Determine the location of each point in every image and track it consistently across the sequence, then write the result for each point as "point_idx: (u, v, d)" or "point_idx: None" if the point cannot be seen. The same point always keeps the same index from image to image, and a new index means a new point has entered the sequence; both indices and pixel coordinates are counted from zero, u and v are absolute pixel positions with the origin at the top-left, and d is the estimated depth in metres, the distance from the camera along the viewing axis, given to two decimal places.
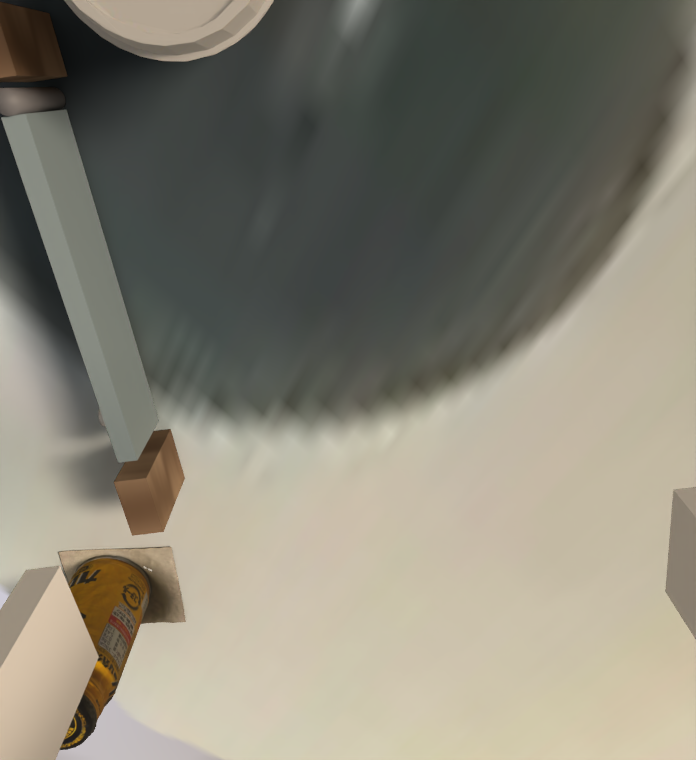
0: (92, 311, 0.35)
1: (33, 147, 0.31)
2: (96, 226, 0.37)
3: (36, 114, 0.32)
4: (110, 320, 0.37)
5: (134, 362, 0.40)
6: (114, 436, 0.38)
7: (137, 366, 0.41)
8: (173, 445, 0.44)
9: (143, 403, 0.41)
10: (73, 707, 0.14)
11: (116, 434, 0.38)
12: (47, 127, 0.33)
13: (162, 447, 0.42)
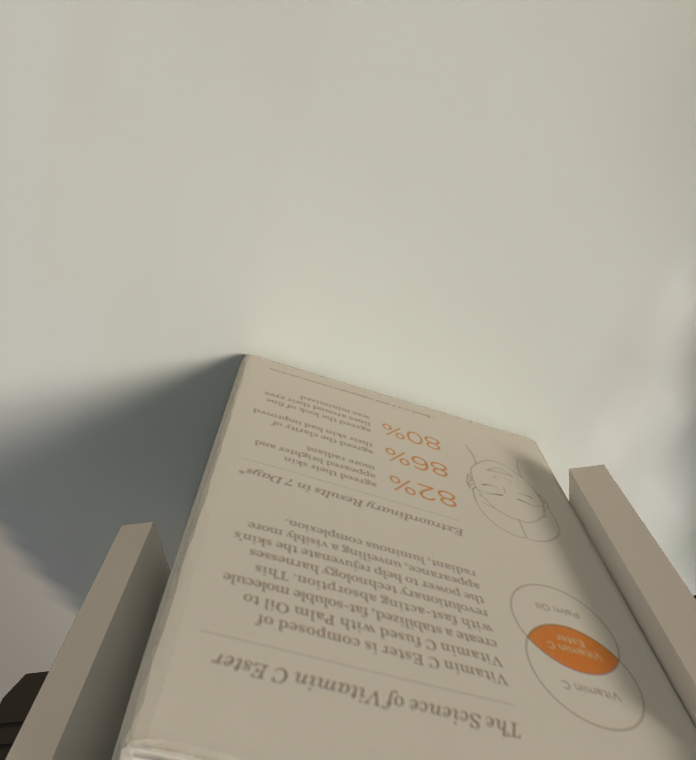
0: None
1: None
2: None
3: None
4: None
5: None
6: None
7: None
8: None
9: None
10: None
11: None
12: None
13: None
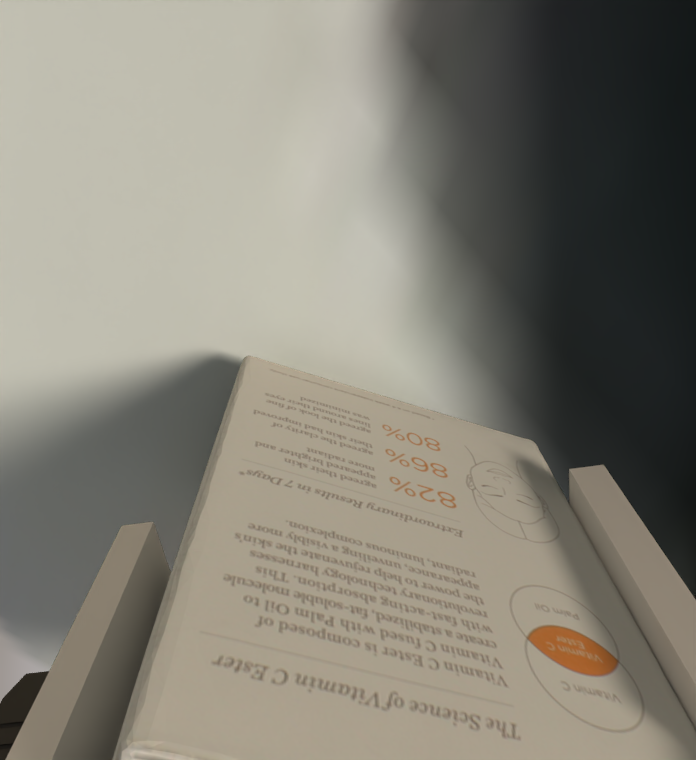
0: None
1: None
2: None
3: None
4: None
5: None
6: None
7: None
8: None
9: None
10: None
11: None
12: None
13: None
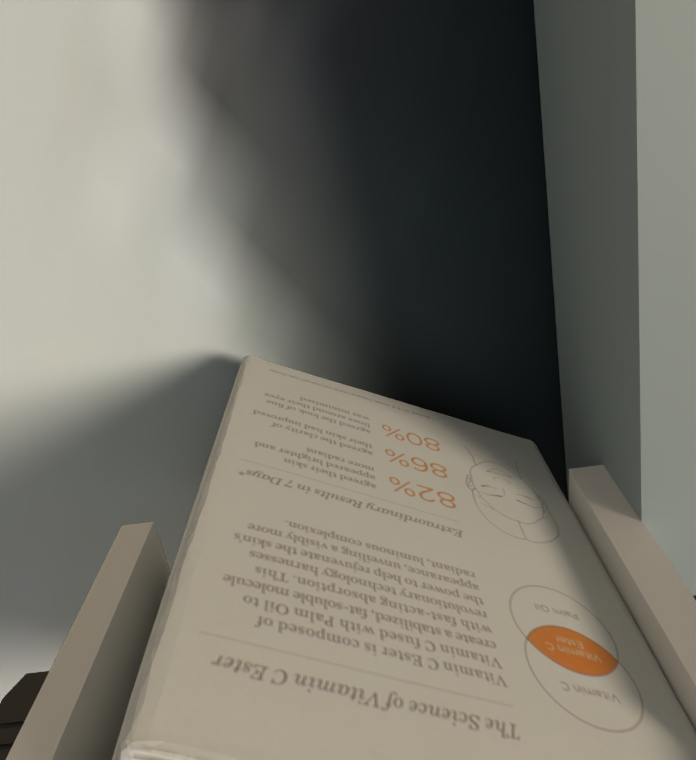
0: None
1: None
2: None
3: None
4: None
5: None
6: None
7: None
8: None
9: None
10: None
11: None
12: None
13: None
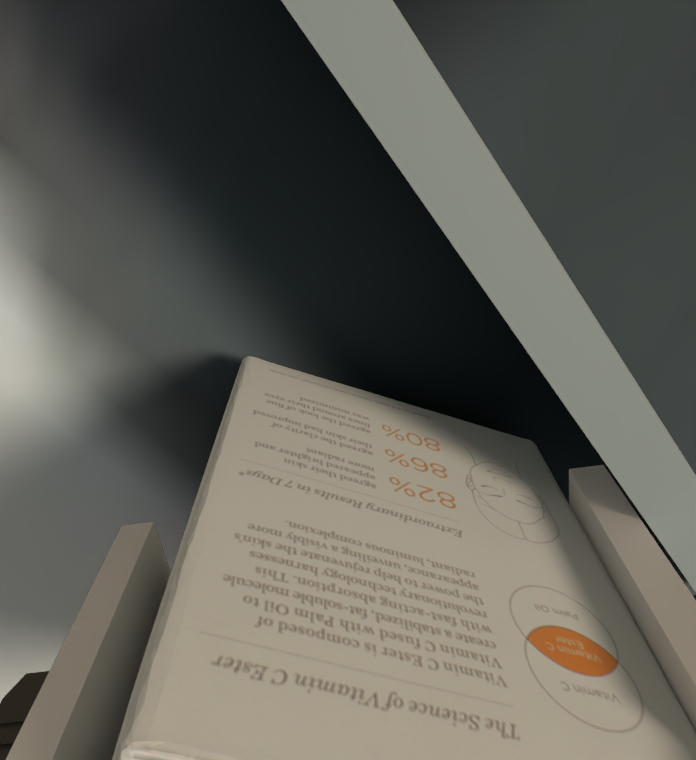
0: (670, 439, 0.12)
1: (398, 31, 0.09)
2: None
3: None
4: None
5: None
6: None
7: None
8: None
9: None
10: None
11: None
12: None
13: None
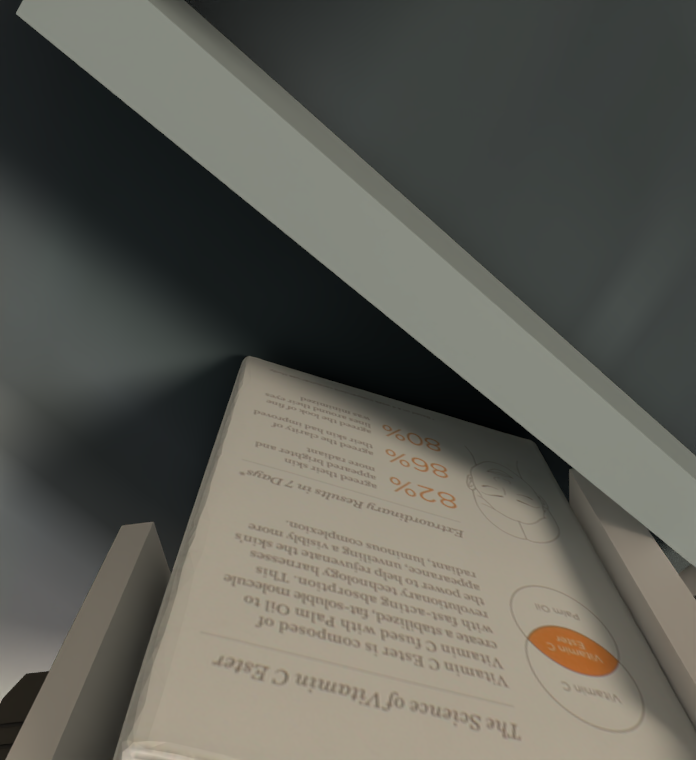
0: (600, 393, 0.11)
1: (163, 30, 0.08)
2: (410, 204, 0.13)
3: None
4: (606, 386, 0.13)
5: (673, 440, 0.15)
6: None
7: (676, 441, 0.16)
8: None
9: None
10: None
11: None
12: None
13: None
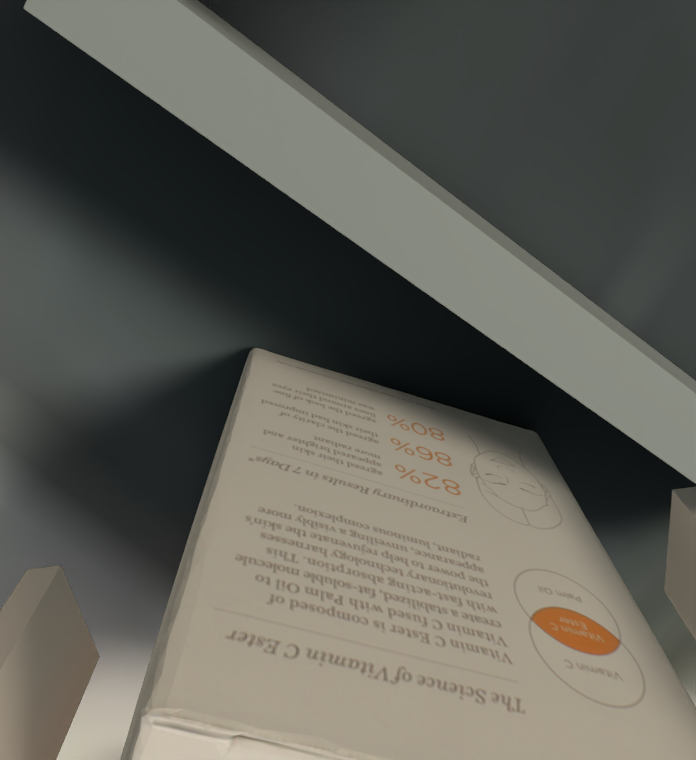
0: (640, 350, 0.11)
1: (170, 11, 0.08)
2: (428, 177, 0.13)
3: None
4: (642, 345, 0.13)
5: None
6: None
7: None
8: None
9: None
10: (74, 707, 0.14)
11: None
12: None
13: None
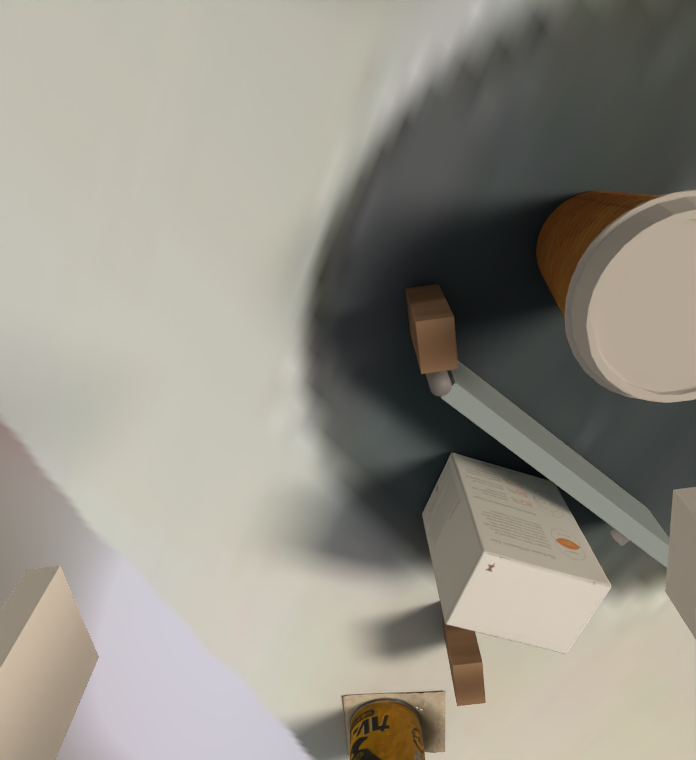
0: (578, 475, 0.39)
1: (473, 400, 0.36)
2: (516, 409, 0.41)
3: (453, 374, 0.37)
4: (581, 468, 0.41)
5: (607, 482, 0.43)
6: (652, 550, 0.40)
7: (609, 482, 0.43)
8: None
9: (637, 506, 0.43)
10: (73, 707, 0.14)
11: (653, 547, 0.40)
12: (459, 375, 0.37)
13: None
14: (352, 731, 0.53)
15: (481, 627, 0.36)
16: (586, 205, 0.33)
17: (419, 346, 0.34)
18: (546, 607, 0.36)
